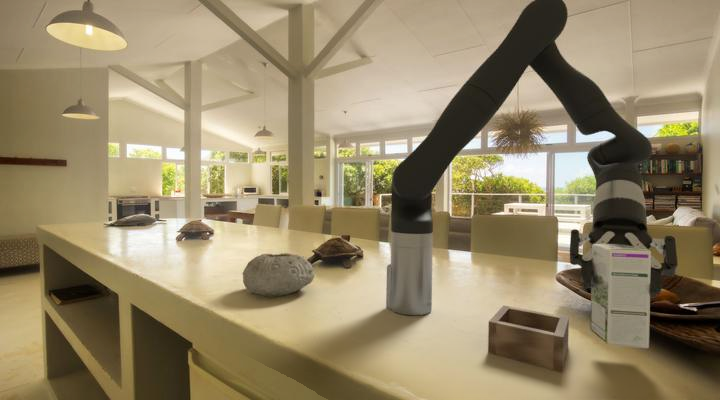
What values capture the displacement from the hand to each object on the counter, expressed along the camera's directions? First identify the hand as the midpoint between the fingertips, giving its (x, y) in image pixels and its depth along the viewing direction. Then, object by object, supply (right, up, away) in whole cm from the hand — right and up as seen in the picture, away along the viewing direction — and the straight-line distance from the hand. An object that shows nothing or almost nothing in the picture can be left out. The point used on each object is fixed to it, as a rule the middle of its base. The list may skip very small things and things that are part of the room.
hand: (619, 289), depth 51 cm
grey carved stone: (-60, -10, +36) cm, 71 cm away
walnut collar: (-11, -11, +5) cm, 17 cm away
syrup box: (+1, -8, +1) cm, 8 cm away
